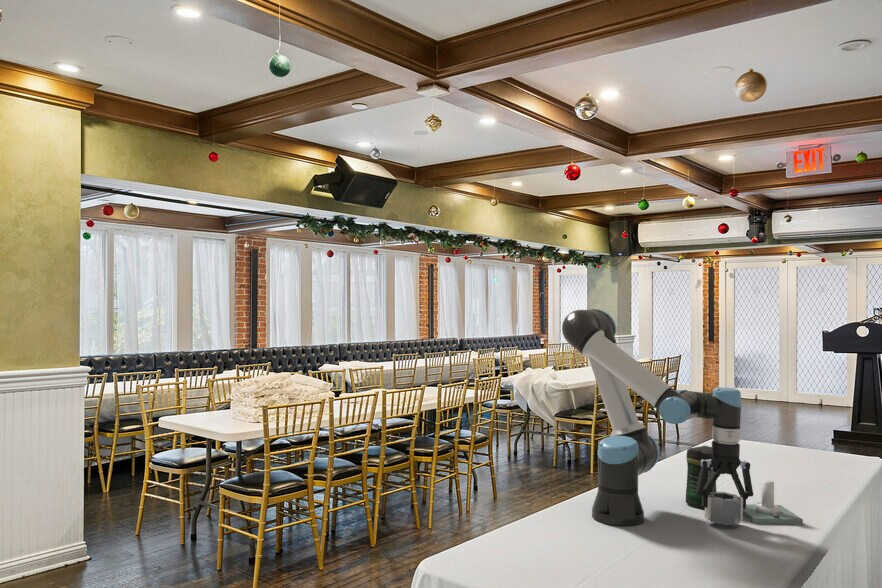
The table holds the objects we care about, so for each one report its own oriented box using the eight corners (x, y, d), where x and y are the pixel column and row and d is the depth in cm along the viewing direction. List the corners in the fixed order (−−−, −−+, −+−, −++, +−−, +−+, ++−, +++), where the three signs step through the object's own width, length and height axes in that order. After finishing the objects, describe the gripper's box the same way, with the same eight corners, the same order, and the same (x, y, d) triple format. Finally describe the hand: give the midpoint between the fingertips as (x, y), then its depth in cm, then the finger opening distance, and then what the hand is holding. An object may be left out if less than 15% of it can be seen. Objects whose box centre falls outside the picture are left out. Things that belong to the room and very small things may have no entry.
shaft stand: (754, 523, 199) (754, 487, 199) (735, 508, 213) (735, 475, 213) (802, 524, 198) (802, 488, 198) (780, 509, 212) (780, 476, 212)
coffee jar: (703, 510, 211) (703, 450, 211) (681, 504, 218) (681, 446, 218) (721, 505, 217) (721, 447, 217) (699, 499, 223) (699, 442, 223)
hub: (713, 524, 194) (714, 500, 194) (703, 514, 202) (704, 491, 202) (743, 525, 193) (744, 501, 193) (732, 515, 202) (732, 492, 202)
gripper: (693, 443, 194) (690, 522, 194) (768, 445, 193) (765, 525, 193) (684, 437, 202) (682, 513, 202) (757, 439, 201) (754, 516, 201)
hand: (723, 519), depth 198 cm, fingers closed on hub, 8 cm apart
